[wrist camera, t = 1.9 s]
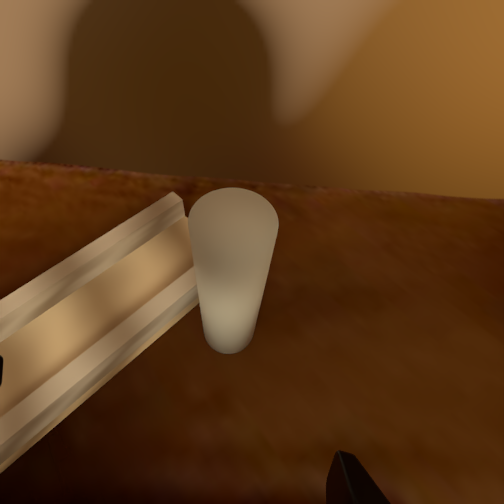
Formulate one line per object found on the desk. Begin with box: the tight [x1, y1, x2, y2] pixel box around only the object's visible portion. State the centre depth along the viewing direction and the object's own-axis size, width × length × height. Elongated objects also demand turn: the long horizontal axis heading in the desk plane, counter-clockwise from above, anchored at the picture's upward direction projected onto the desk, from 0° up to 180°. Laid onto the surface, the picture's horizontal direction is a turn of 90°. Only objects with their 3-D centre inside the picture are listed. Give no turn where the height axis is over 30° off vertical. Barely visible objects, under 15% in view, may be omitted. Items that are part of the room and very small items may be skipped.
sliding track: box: [0, 192, 199, 473], centre depth 22 cm, size 20×8×3 cm, turn 135°
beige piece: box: [188, 188, 279, 354], centre depth 18 cm, size 4×4×12 cm
